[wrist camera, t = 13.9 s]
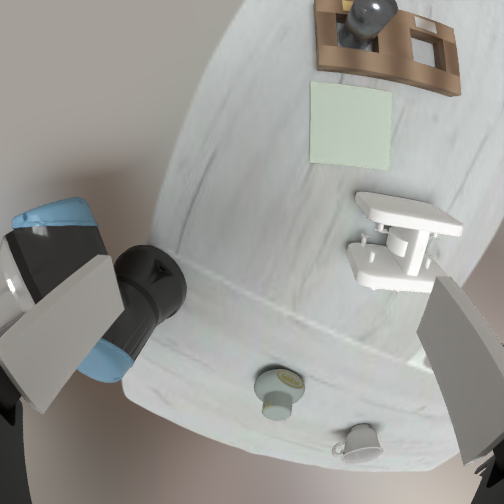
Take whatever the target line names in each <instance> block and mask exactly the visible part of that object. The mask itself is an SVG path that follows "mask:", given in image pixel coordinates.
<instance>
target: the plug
mask: <svg viewBox="0 0 504 504" xmlns="http://www.w3.org/2000/svg"><path fill="white" fill-rule="evenodd" d="M397 11H398V6H397V3H396V1H395V0H354V2H353V4H352V7H351V9H350V11H349V13H348V15H347V18H346V20H345V22H344V24H343V26H342V29H341V31H340V33H339V42H340V44H341V45H342V46H343V47H345V48H352V49H359V50H365V49H366V47H367V46H368V45H369V44H370V43H371V42H372V41H373V39H374V38H375V37H376V36H377V35H378V34H379V33H380V31H381V30H382V29H383V28H384V27H385V26H386V25H387V24H388V23H389V21H390V20H391V19H392V18H393V17H394V16H395V15H396V13H397Z"/></svg>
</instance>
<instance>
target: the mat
mask: <svg viewBox="0 0 504 504" xmlns="http://www.w3.org/2000/svg"><path fill="white" fill-rule="evenodd" d="M391 125H392V92H387V91H382V90H377V89H371V88H364V87H358V86H350V85H342V84H333V83H322V82H310V157H309V163H322V164H334V165H345V166H355V167H365V168H373V169H381V170H388V171H389V163H390V148H391Z"/></svg>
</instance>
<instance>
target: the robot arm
mask: <svg viewBox="0 0 504 504" xmlns="http://www.w3.org/2000/svg"><path fill="white" fill-rule="evenodd" d="M12 228H13V229H14V230H13V231H12V232H10V233H8V234H6V235H5V236H3V238H2V242H1V245H0V331H1V330H2V329H3V328H5V327H6V326H8V325H9V324H11V323H12V322H13V321H15V320H16V319H18V318H19V317H21V316H22V315H23V314H25V315H24V316H23V317H22V318H20V319H19V320H18V321H17V322H16V323H15V324H14V325H13V326H12V327H11V328H10V329H9V330H8V331H7V332H6V333H5V334H4V335H3V336H2V337H1V338H0V504H32V502H31V497H30V492H29V486H28V480H27V473H26V465H25V456H24V443H23V407H22V403H21V401H20V400H19V398H20V397H21V396H22V397H23V398H24V399H25V400H26V402H27V403H28V404H29V405H30V407H32V408H33V409H35V410H36V411H38V412H39V413H41V414H42V415H43V414H44V412H45V411H46V409H47V408H48V407H49V405H50V404H51V402H52V401H53V400H54V398H55V397H56V395H57V394H58V393H59V391H60V390H61V389H62V387H63V386H64V384H65V383H66V382H67V381H68V379H69V378H70V377H71V375H72V374H73V373H74V371H75V370H76V369H77V370H79V371H80V372H82V373H83V374H85V375H87V376H89V377H91V378H93V379H95V380H98V381H101V382H108V383H112V382H116V381H119V380H120V379H121V378H122V377H123V376H124V375H125V373H126V372H127V371H128V369H129V368H131V367H132V366H133V364H134V361H135V360H136V358H137V356H138V355H139V353H140V352H141V350H142V348H143V347H144V345H145V343H146V342H147V340H148V339H149V337H150V335H151V334H152V332H153V331H154V329H155V328H156V326H157V325H158V324H160V323H161V322H163V321H164V320H165V319H167V318H169V317H171V316H173V315H174V314H175V313H176V312H177V311H178V310H179V308H180V307H181V305H182V304H183V302H184V300H185V297H186V283H185V279H184V276H183V274H182V272H181V270H180V268H179V267H178V265H177V264H176V263H175V262H174V261H173V260H172V259H171V258H170V257H169V256H168V255H167V254H166V253H164V252H163V251H161V250H159V249H157V248H154V247H151V246H147V245H138V246H133V247H131V248H129V249H128V250H126V251H125V252H124V253H123V254H121V255H120V256H119V258H118V259H117V260H116V262H115V264H114V267H113V263H112V258H111V256H108V253H107V251H106V248H105V246H104V243H103V241H102V238H101V236H100V233H99V230H98V224H97V223H96V222H95V220H94V217H93V215H92V212H91V210H90V207H89V205H88V203H87V202H86V201H85V200H84V199H82V198H79V197H73V198H68V199H64V200H59V201H56V202H52V203H49V204H46V205H43V206H40V207H37V208H35V209H32V210H30V211H28V212H25V213H23V214H20V215H18V216H16V217H14V218H13V220H12ZM417 335H418V337H419V339H420V341H421V343H422V346H423V348H424V350H425V352H426V355H427V357H428V359H429V362H430V364H431V367H432V369H433V371H434V374H435V376H436V379H437V382H438V384H439V387H440V389H441V392H442V395H443V398H444V400H445V403H446V406H447V409H448V412H449V415H450V418H451V421H452V424H453V428H454V431H455V434H456V438H457V441H458V445H459V449H460V453H461V457H462V460H463V464H464V466H466V465H468V464H471V463H473V462H476V461H478V460H481V459H482V458H483V457H484V456H486V455H487V454H488V453H489V452H490V451H492V450H493V452H494V455H493V456H492V457H491V458H490V459H488V460H487V461H486V462H485V463H483V464H482V465H481V466H480V467H479V468H477V470H476V471H475V474H477V473H479V472H480V471H481V470H483V469H484V468H486V469H485V470H484V471H483V472H482V473H481V474H480V476H482V480H481V482H480V485H479V487H478V489H477V492H476V494H475V496H474V498H473V500H472V502H471V504H504V345H503V344H502V343H501V342H500V341H499V339H498V338H497V336H496V334H495V333H494V332H493V330H492V329H491V327H490V326H489V325H488V323H487V322H486V320H485V319H484V318H483V316H482V315H481V314H480V312H479V311H478V310H477V308H476V307H475V306H474V304H473V303H472V302H471V301H470V299H469V298H468V297H467V295H466V294H465V293H464V292H463V291H462V289H461V288H460V287H459V286H458V285H457V283H456V282H455V281H454V280H453V279H452V277H446V276H436V279H435V282H434V285H433V288H432V291H431V294H430V297H429V300H428V303H427V306H426V309H425V311H424V314H423V317H422V319H421V322H420V324H419V327H418V329H417Z"/></svg>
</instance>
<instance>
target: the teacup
mask: <svg viewBox="0 0 504 504" xmlns="http://www.w3.org/2000/svg"><path fill="white" fill-rule="evenodd" d="M344 443H345V449H344V450H341V452H340V454H338V453H336V452H335V449H336V448H337V447H338V446H341V445H343V444H344ZM383 451H384V450H383V449H382V448H381V447H380V444H379V441H378V437H377V434H376V432H375V431H374V430H373V429H371V428H370V427H369V425H367V424H360V425H357V426H354V427H353V428H352V429H351V432H350V433H349V434H348V435H347V437H346V439H345V440H344V441H343V442H341V443H338V444H336V445H335V446H334V447H333V449H332V454H333V456H335V457H340V456H341V455H342V454H344V455H343V456H342V458H341V460H342V461H343V462H345V463H351V464H355V463H363V462H367V461H370V460H373V459H375V458H377V457H379V456H380V455H381V454H382V453H383Z"/></svg>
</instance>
